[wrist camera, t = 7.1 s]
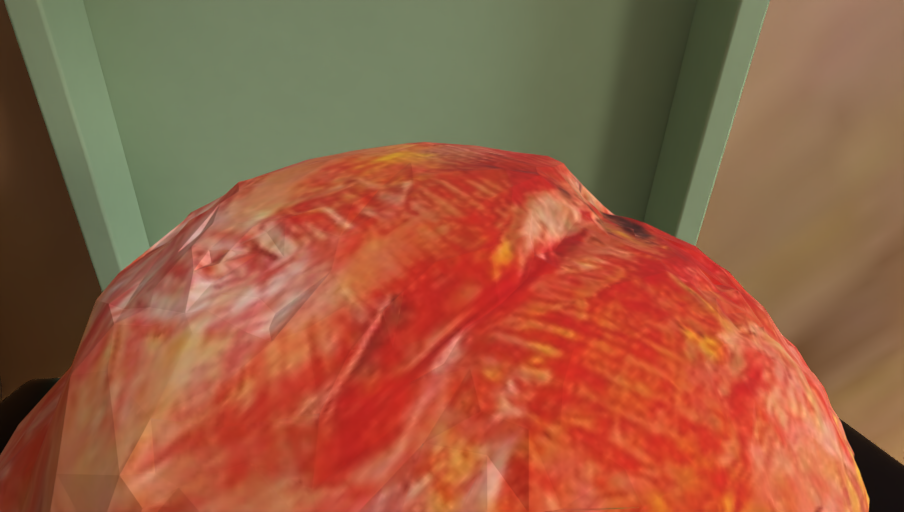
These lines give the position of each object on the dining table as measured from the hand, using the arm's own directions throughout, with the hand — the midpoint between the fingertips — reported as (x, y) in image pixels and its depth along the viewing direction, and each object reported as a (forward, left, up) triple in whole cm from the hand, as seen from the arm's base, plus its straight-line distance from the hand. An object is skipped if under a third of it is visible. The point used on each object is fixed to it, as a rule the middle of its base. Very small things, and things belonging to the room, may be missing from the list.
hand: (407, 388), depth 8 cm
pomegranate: (0, 0, -2) cm, 2 cm away
